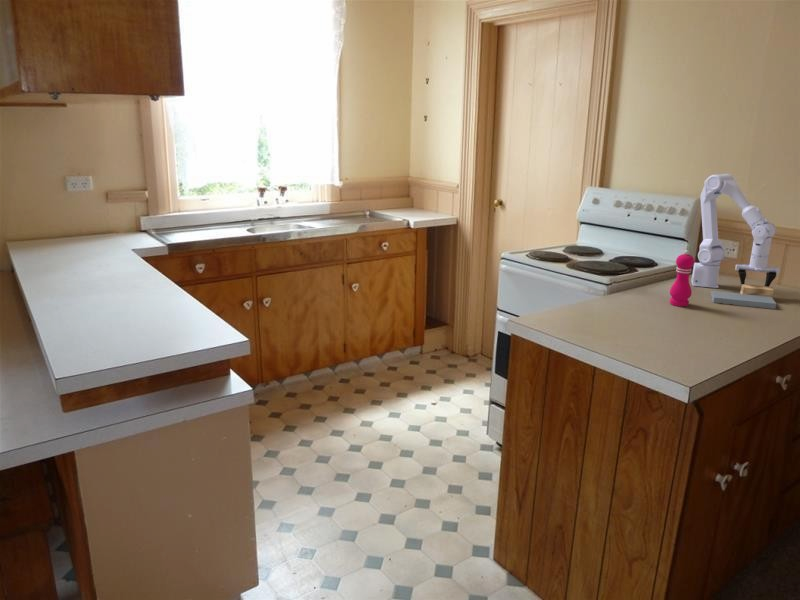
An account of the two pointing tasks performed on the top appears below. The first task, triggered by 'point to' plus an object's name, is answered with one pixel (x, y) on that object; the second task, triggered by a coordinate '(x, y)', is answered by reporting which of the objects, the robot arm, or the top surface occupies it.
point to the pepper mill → (682, 280)
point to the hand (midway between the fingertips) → (753, 290)
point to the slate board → (743, 299)
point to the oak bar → (757, 290)
